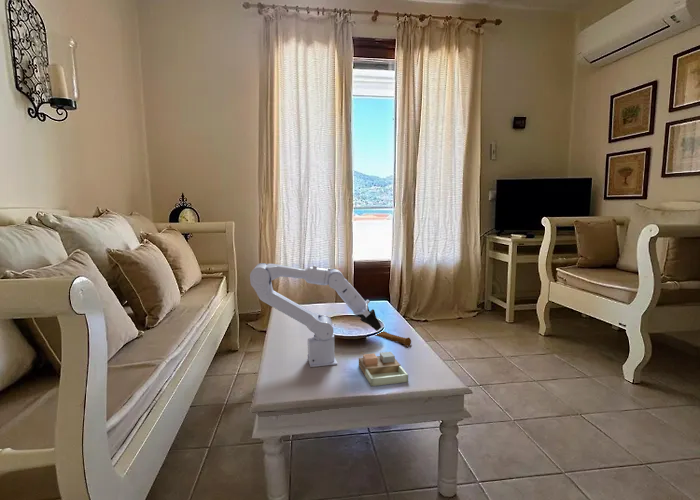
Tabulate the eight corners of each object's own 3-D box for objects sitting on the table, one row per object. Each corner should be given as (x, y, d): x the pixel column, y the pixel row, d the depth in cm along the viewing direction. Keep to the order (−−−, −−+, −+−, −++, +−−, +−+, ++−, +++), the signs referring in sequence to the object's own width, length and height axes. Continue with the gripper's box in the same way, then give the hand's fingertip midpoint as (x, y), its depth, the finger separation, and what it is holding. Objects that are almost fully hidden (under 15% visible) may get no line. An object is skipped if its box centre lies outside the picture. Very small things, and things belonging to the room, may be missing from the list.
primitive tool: (372, 335, 167) (372, 327, 167) (381, 332, 171) (381, 324, 170) (405, 348, 153) (406, 339, 152) (415, 344, 156) (415, 336, 156)
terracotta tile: (365, 364, 130) (365, 358, 130) (362, 360, 134) (362, 354, 134) (377, 363, 131) (377, 357, 131) (374, 358, 135) (374, 353, 135)
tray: (371, 386, 121) (371, 379, 121) (365, 376, 128) (365, 369, 127) (408, 382, 124) (408, 374, 123) (400, 372, 130) (400, 365, 130)
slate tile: (383, 362, 132) (383, 357, 132) (379, 358, 136) (379, 352, 135) (394, 361, 133) (394, 356, 132) (390, 357, 137) (390, 351, 136)
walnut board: (365, 376, 128) (365, 368, 127) (358, 365, 136) (358, 358, 136) (400, 372, 130) (400, 365, 130) (391, 361, 139) (391, 354, 139)
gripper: (365, 293, 131) (390, 323, 133) (356, 287, 145) (379, 314, 148) (349, 307, 130) (375, 337, 133) (341, 300, 145) (365, 327, 147)
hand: (376, 326), depth 140 cm, fingers open, 7 cm apart
